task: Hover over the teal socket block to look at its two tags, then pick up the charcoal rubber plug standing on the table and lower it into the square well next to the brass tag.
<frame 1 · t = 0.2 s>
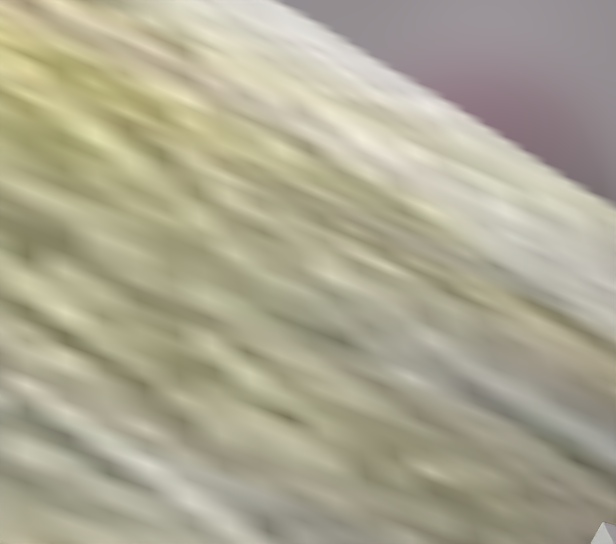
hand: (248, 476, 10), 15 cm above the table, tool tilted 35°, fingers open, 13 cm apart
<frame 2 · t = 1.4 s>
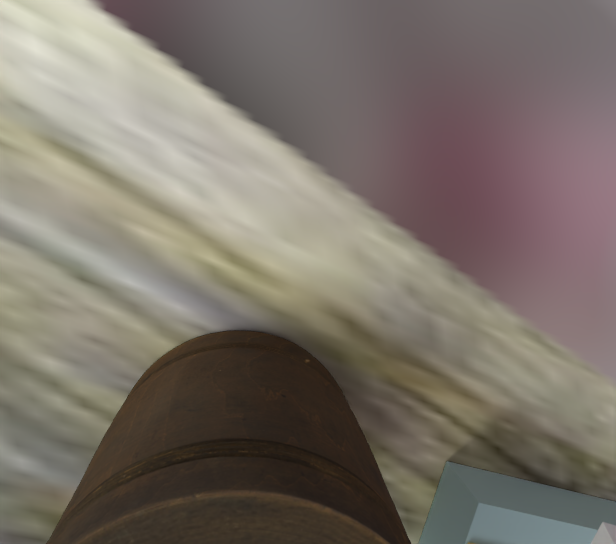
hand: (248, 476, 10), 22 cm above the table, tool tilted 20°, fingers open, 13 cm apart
wooden container: (238, 440, 34), on the table
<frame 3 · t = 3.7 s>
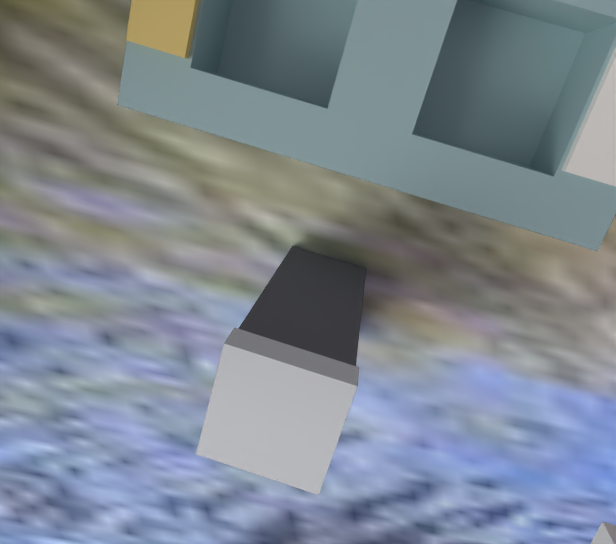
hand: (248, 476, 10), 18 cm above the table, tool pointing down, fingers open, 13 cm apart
plug: (318, 291, 28), on the table
socket block: (390, 57, 24), on the table
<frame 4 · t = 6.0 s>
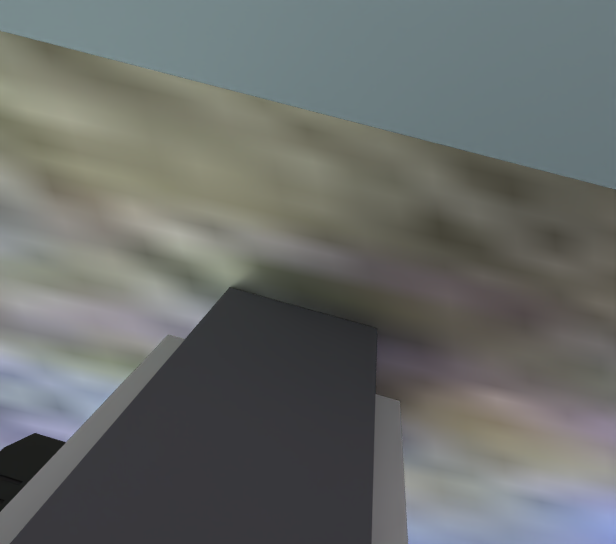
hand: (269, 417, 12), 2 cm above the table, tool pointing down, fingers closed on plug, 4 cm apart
plug: (285, 373, 14), on the table, touching gripper
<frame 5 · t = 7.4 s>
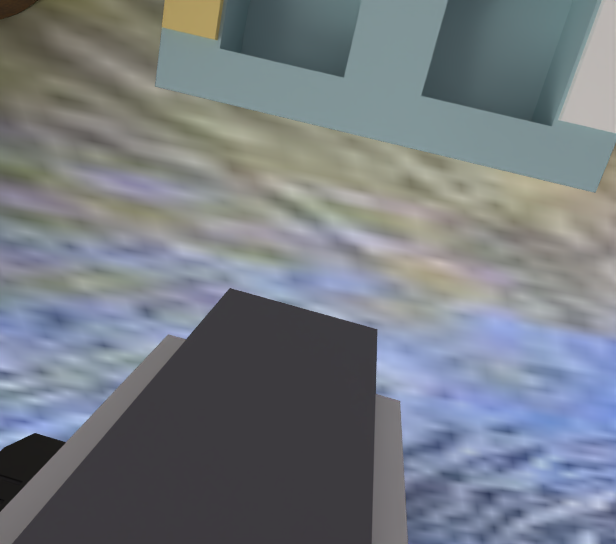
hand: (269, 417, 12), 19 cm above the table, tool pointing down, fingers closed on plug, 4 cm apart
plug: (286, 374, 14), point 16 cm above the table, touching gripper
socket block: (397, 32, 26), on the table
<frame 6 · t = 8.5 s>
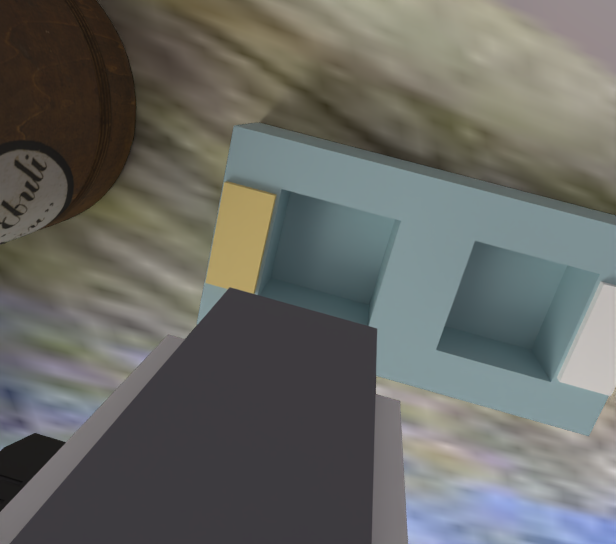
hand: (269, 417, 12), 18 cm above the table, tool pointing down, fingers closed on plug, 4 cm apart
wooden container: (16, 96, 30), on the table
plug: (285, 373, 14), point 16 cm above the table, touching gripper
socket block: (413, 258, 29), on the table
when the fingers open (6 cm above the table, at t = 11.3 s): plug drops 2 cm, resting on socket block.
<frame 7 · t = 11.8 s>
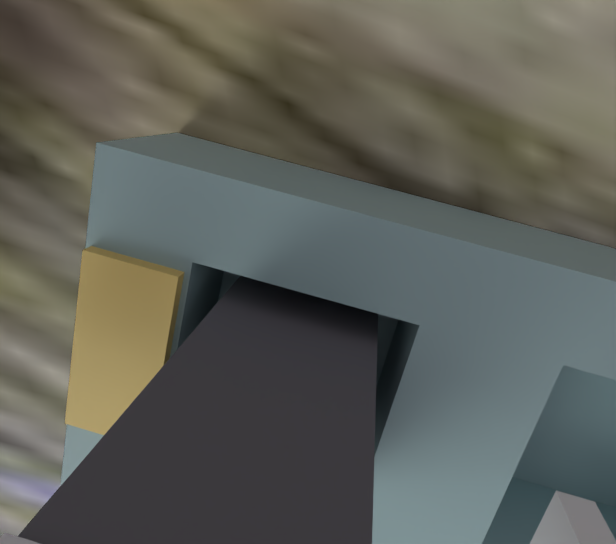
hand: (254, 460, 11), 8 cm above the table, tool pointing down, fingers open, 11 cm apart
plug: (300, 336, 17), point 2 cm above the table, touching socket block
socket block: (433, 353, 18), on the table
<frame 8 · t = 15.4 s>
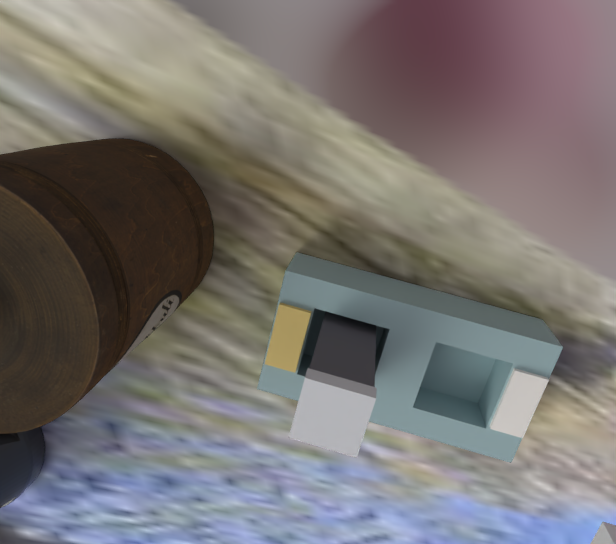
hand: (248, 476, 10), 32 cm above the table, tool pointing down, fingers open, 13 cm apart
wooden container: (130, 229, 44), on the table
plug: (345, 333, 42), point 1 cm above the table, touching socket block
socket block: (399, 340, 43), on the table
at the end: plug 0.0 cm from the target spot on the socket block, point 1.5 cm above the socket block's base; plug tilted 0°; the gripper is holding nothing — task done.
